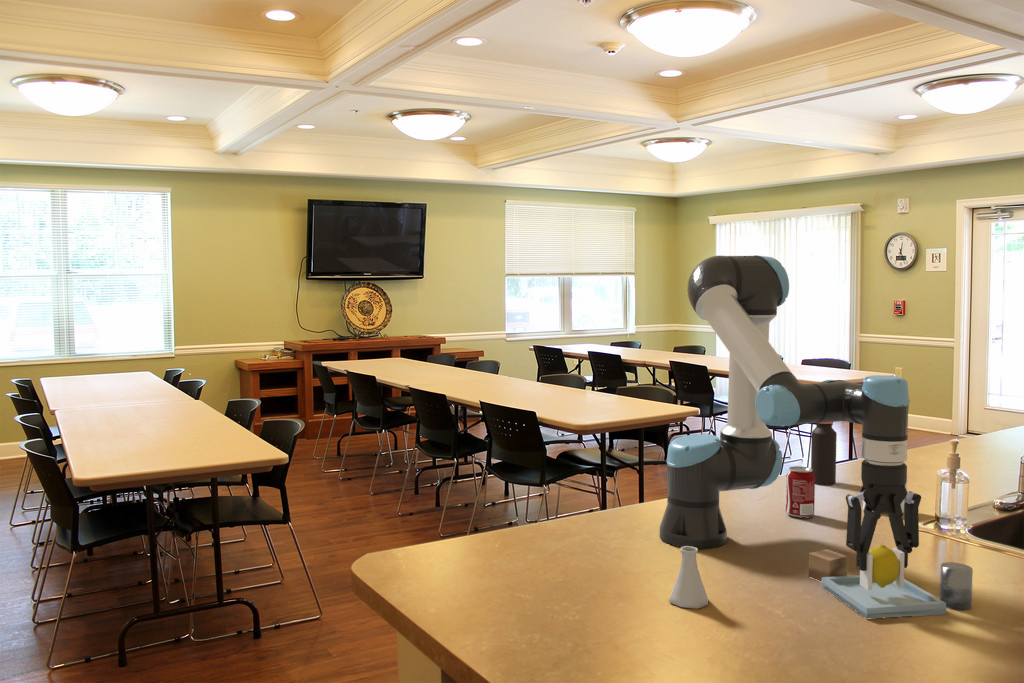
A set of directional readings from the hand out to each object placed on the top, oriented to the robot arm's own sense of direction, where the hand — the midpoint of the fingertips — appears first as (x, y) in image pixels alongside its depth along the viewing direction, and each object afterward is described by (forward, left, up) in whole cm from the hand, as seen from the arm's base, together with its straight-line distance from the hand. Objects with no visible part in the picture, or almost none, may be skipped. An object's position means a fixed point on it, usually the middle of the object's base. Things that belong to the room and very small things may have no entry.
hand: (881, 585), depth 146 cm
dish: (0, 0, -3) cm, 3 cm away
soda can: (+12, +53, -3) cm, 55 cm away
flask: (-35, +5, -3) cm, 35 cm away
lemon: (0, 0, -1) cm, 1 cm away
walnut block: (-4, +12, -3) cm, 13 cm away
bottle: (+35, +83, -3) cm, 90 cm away
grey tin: (+12, -4, -3) cm, 13 cm away
